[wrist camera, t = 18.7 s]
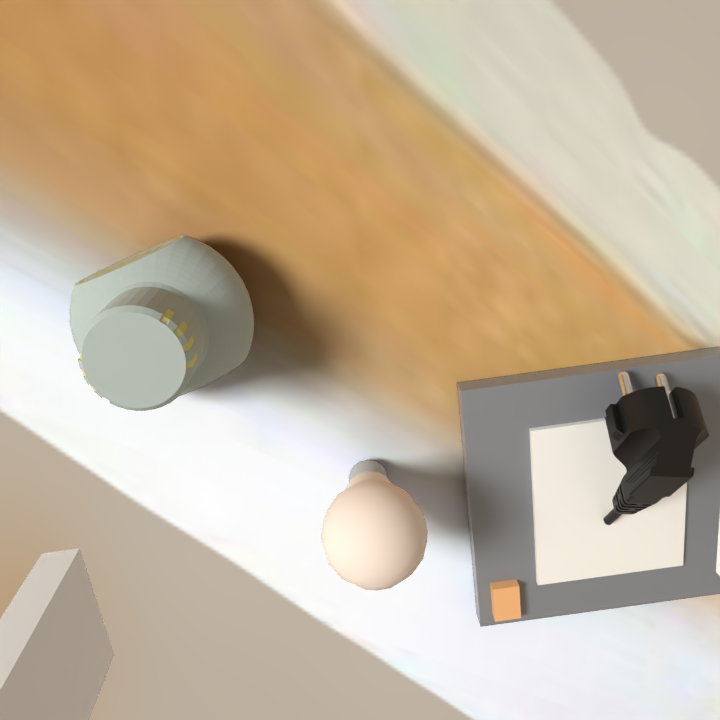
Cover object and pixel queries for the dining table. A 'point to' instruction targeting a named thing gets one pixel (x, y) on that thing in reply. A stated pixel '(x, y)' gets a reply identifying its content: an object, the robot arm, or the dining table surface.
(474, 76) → the dining table surface
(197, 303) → the air freshener
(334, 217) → the dining table surface
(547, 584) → the socket board
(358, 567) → the light bulb
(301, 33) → the dining table surface
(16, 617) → the robot arm
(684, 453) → the power plug
